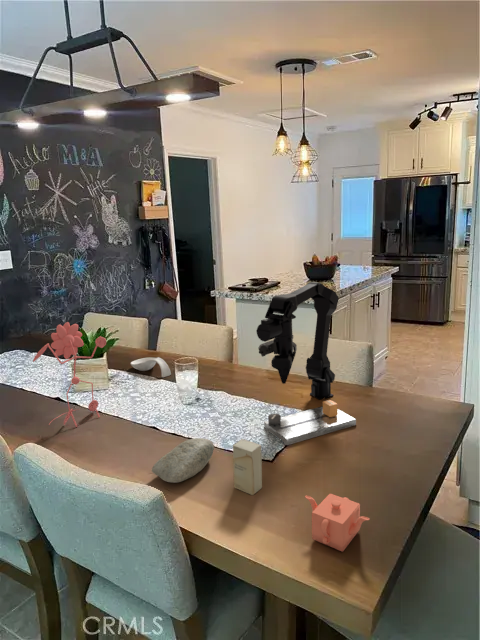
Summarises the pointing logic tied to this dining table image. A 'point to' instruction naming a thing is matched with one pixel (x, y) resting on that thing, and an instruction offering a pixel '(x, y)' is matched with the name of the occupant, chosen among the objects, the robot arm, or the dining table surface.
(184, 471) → the rock
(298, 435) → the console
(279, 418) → the dial
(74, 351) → the figurine
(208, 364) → the dining table surface
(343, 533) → the teapot
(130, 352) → the dining table surface
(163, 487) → the dining table surface
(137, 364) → the spoon rest
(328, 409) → the fader
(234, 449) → the skincare box
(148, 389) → the dining table surface
